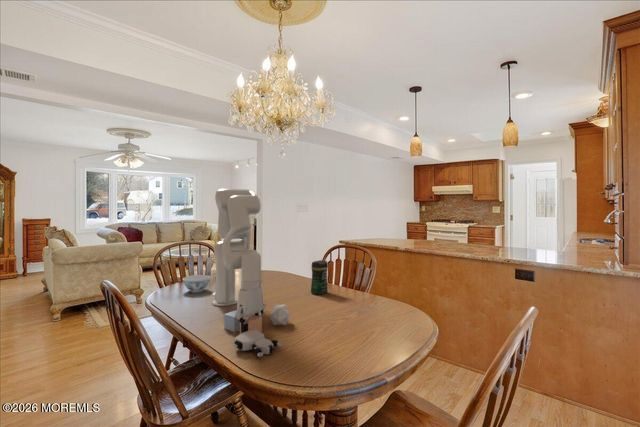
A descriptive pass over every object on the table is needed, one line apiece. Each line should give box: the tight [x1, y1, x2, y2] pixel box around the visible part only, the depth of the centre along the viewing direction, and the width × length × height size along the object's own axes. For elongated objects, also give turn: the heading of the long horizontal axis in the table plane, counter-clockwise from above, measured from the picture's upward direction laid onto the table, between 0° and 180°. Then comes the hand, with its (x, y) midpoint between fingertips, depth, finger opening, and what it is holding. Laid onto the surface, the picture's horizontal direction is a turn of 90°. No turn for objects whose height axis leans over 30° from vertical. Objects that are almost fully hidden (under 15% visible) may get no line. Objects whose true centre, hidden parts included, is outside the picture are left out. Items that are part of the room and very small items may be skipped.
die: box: [269, 304, 291, 326], centre depth 134 cm, size 8×9×10 cm
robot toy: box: [228, 329, 283, 357], centre depth 110 cm, size 12×4×15 cm
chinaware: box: [182, 274, 211, 294], centre depth 183 cm, size 15×15×8 cm
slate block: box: [223, 309, 241, 333], centre depth 129 cm, size 6×6×6 cm
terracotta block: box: [239, 314, 263, 335], centre depth 124 cm, size 6×6×6 cm
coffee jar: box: [310, 259, 329, 295], centre depth 182 cm, size 10×8×19 cm
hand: (250, 330), depth 124 cm, fingers closed on terracotta block, 6 cm apart
